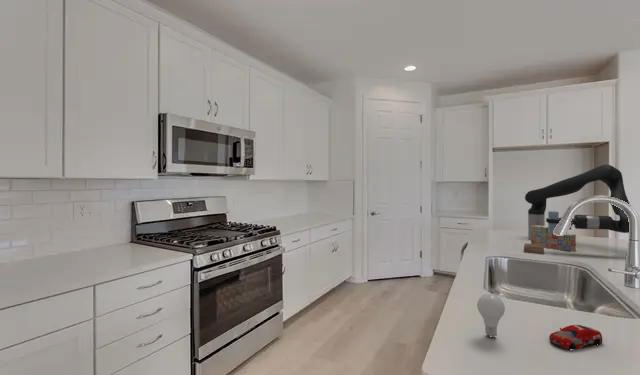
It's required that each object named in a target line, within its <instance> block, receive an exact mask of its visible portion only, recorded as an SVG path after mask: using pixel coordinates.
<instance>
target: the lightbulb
mask: <svg viewBox="0 0 640 375" xmlns="http://www.w3.org/2000/svg"><path fill="white" fill-rule="evenodd" d="M476 307H477V311H478V313H479V314H480V316H481V318H482V319H483V323H484V327H485V328H484V330H485V332H484V333H486V334H487V335H489V336H496V337H497V336H498V334H497V332H498V331H497V330H498V326H499V322H500V320H501V318H502V317H503V316H504V315H505V312H506V308H505V304H504V302H503V300H502V299H501V298H500V297H498V296H497V295H496V294H491V293H487V294H486V293H485V294H483V295H481V296H480V297H479V298H478V300H477V304H476ZM486 334H485V335H486ZM487 335H486V336H487ZM489 336H488V337H489Z"/></svg>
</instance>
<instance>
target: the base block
mask: <svg viewBox="0 0 640 375" xmlns="http://www.w3.org/2000/svg"><path fill="white" fill-rule="evenodd" d="M544 249H545V248H544V245H540V244H531V243H524V244H523V253H524V254H533V255H534V254H536V255H537V254H538V255H544V254H545V252H544V251H545V250H544Z"/></svg>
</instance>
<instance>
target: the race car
mask: <svg viewBox="0 0 640 375" xmlns="http://www.w3.org/2000/svg"><path fill="white" fill-rule="evenodd" d="M548 339H549V342H550V343H551V344H552V345H554V346H556V347H557V348H561V349H564V350H565V349H566V350H568V349H569V350H568V351H570V349H575V348H578V349H581V348H580V347H583V348H587V347H586V346H589V347H592V346H591V345H596V346H598V345H597V344H599V345H600V344H602V343H603V334H602V333H601V331H600V330H597V329H594V328H592V327H590V326H586V325H581V324H570V325H567V326H565V327H563V328H562V327H559V330H557V331H554V332H551V333H550V334H549V338H548Z"/></svg>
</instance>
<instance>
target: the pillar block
mask: <svg viewBox="0 0 640 375" xmlns="http://www.w3.org/2000/svg"><path fill="white" fill-rule="evenodd" d="M547 213H548V214H547V216H548V217H547V218H548V219H559V218H560V217H559V214H560V213H559V211H554V210H553V211H552V210H548V211H547ZM556 225H557V224H555V223H548V222H547V226H548V233H549V234H553V230H554V228H555V227H556Z"/></svg>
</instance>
